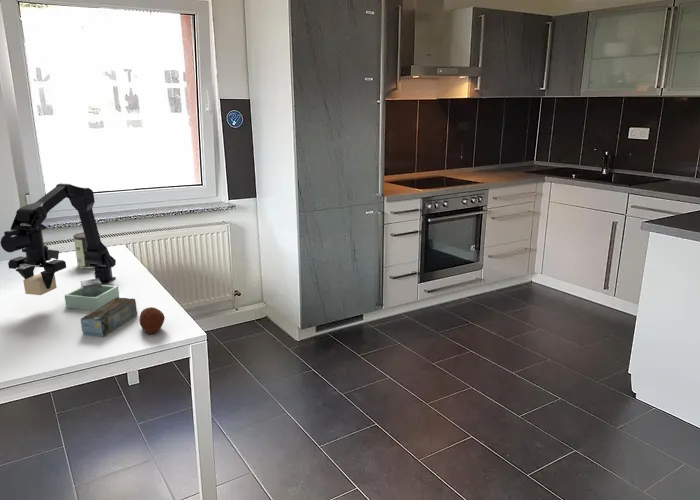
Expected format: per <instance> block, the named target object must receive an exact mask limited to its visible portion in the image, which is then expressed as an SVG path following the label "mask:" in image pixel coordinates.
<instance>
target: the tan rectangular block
mask: <svg viewBox="0 0 700 500" xmlns="http://www.w3.org/2000/svg"><path fill="white" fill-rule="evenodd" d="M22 283H23V287H24V293H25V295H32V296H33V295H34V296H42V295H44V294H46V293H49V292H52V291H53V290H55V289H57V288H58V287H57V281H56V274H54V276H53V279H52V283H51V287H50V289H47V288H46V286H45V283H44V281H43V278H42V275H41V272H39V273H37V274H35V275H34V276H32V277H29V278H27V279H23V282H22Z"/></svg>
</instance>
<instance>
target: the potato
mask: <svg viewBox="0 0 700 500" xmlns="http://www.w3.org/2000/svg"><path fill="white" fill-rule="evenodd" d="M165 319H166V317H165V315H164V312H162V311H161V310H160V309H158V308H156V307H153V306H151V307H147V308H144V309H143V310H142V311H141V312H140V315H139V325H140V326H141V329H142V330H143V331H144V332H145V333H147V334H149V335H153V334H156V333H158V332H159V331H160V330H161V328H162V327H163V324H164V322H165Z"/></svg>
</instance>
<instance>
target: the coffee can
mask: <svg viewBox="0 0 700 500" xmlns="http://www.w3.org/2000/svg"><path fill="white" fill-rule="evenodd" d="M72 237H73V241H74V248H75V249H74V250H75V256H76V263H77V268H79V269H94V268H95V267H90V266H89V263H88V262H87V260H85V255H84V253H83V252H84V251H85V250H86V248H87V241H86V238H85V234H84V231H83V232H79V233H75V234H73V236H72Z"/></svg>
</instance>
